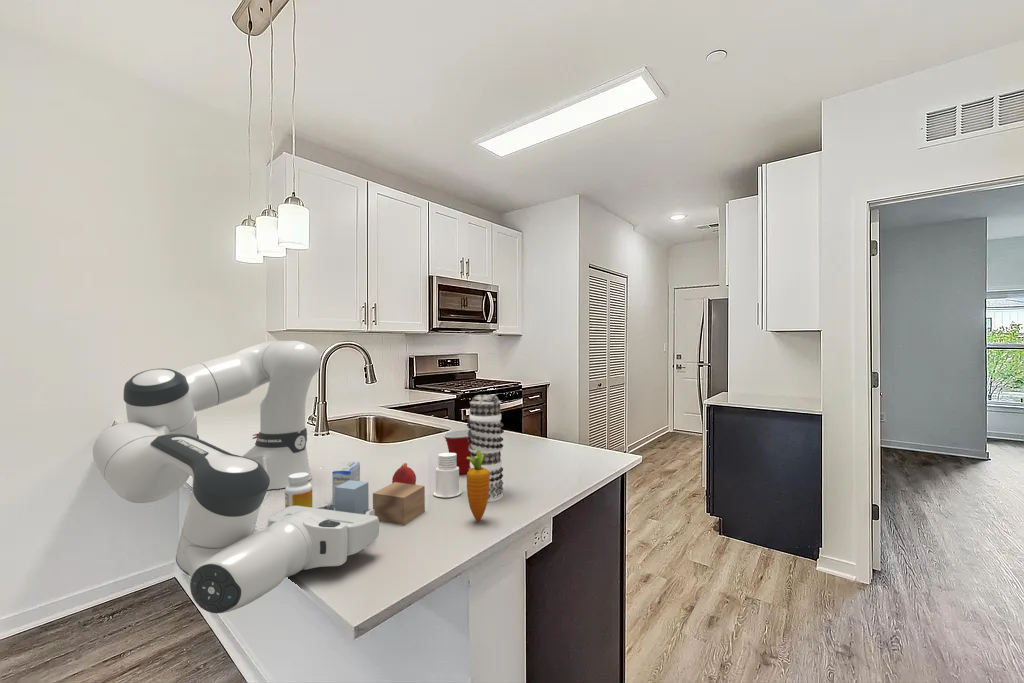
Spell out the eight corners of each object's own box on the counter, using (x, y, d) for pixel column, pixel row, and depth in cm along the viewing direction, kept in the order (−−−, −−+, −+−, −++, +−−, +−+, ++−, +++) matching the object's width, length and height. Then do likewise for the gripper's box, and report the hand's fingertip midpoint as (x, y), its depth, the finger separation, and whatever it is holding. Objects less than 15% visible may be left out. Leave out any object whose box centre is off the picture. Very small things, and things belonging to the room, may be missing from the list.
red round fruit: (410, 499, 108) (409, 467, 108) (388, 498, 109) (388, 465, 109) (419, 491, 114) (419, 460, 114) (398, 490, 115) (398, 459, 115)
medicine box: (342, 496, 111) (341, 461, 111) (360, 495, 111) (360, 461, 111) (332, 508, 103) (331, 471, 103) (351, 507, 104) (351, 470, 104)
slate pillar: (335, 537, 88) (335, 487, 88) (350, 528, 92) (349, 480, 92) (354, 540, 86) (354, 489, 86) (368, 531, 91) (368, 482, 91)
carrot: (480, 528, 92) (480, 455, 91) (461, 523, 94) (461, 452, 94) (494, 520, 96) (494, 450, 96) (475, 515, 98) (475, 447, 98)
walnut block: (372, 520, 96) (372, 493, 96) (395, 507, 104) (394, 482, 104) (404, 526, 93) (404, 497, 93) (424, 512, 101) (424, 485, 101)
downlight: (459, 499, 108) (459, 457, 109) (430, 499, 108) (430, 458, 109) (463, 489, 116) (463, 451, 117) (436, 489, 116) (436, 451, 117)
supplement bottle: (317, 515, 99) (317, 472, 99) (301, 525, 94) (301, 479, 94) (297, 513, 100) (296, 470, 100) (279, 523, 95) (279, 477, 95)
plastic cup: (449, 466, 137) (448, 427, 137) (483, 467, 136) (483, 428, 135) (438, 476, 126) (438, 434, 126) (475, 478, 125) (475, 435, 125)
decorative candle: (459, 496, 110) (458, 396, 110) (486, 487, 117) (485, 392, 117) (485, 505, 104) (484, 399, 104) (511, 495, 111) (511, 395, 111)
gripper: (250, 550, 78) (308, 519, 91) (349, 567, 72) (395, 532, 85) (250, 514, 78) (308, 489, 91) (349, 528, 72) (395, 499, 85)
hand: (351, 510), depth 88 cm, fingers open, 8 cm apart
